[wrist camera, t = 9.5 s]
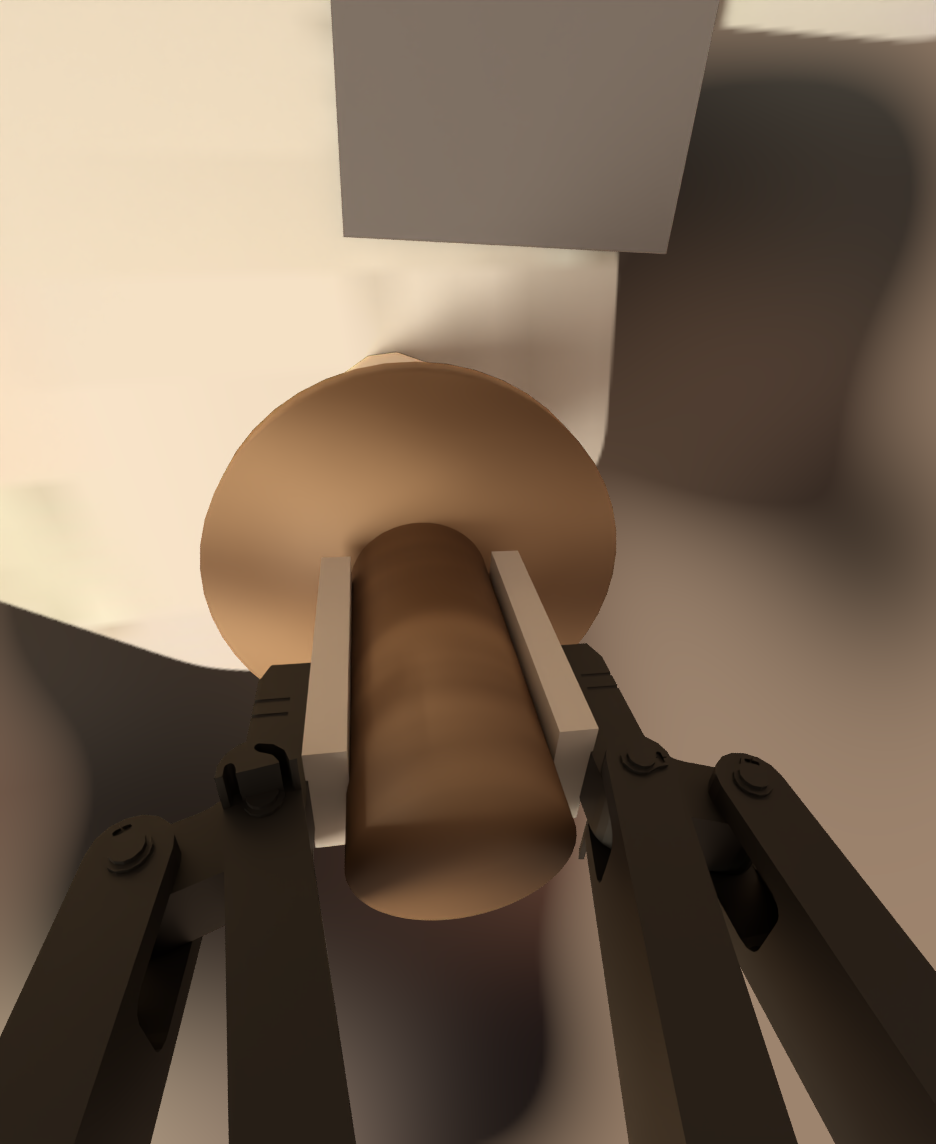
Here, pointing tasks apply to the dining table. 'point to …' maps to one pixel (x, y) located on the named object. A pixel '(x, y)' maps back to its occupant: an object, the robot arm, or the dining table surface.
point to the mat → (517, 119)
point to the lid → (420, 612)
